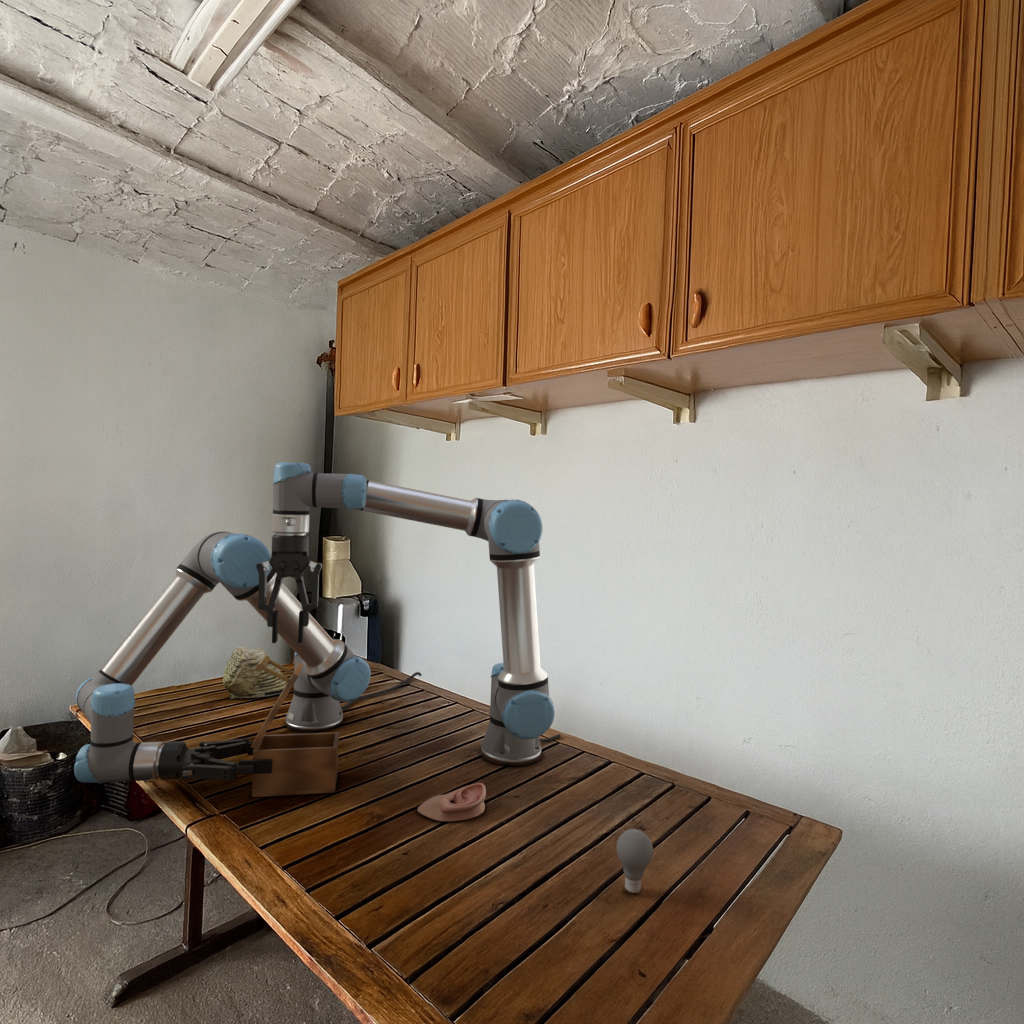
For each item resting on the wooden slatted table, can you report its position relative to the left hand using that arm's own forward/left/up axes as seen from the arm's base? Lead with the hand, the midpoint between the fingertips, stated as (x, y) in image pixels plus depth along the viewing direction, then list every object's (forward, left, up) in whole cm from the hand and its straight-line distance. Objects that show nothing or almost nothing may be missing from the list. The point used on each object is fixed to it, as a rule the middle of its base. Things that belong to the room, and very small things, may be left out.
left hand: (275, 756), depth 137 cm
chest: (-4, +3, -6) cm, 8 cm away
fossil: (-29, -61, -7) cm, 68 cm away
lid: (0, 0, +11) cm, 11 cm away
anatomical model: (-19, +35, -7) cm, 40 cm away
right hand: (-1, +1, +25) cm, 25 cm away
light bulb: (-20, +76, -7) cm, 79 cm away
